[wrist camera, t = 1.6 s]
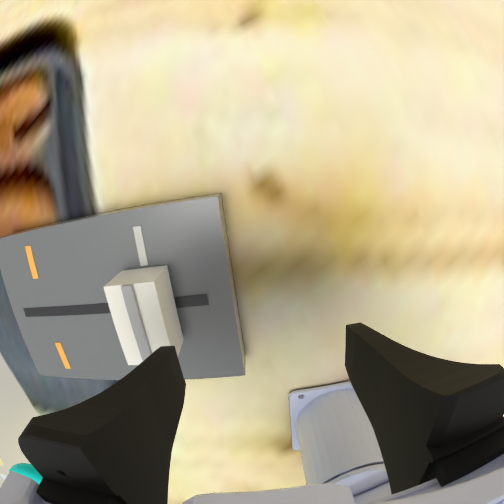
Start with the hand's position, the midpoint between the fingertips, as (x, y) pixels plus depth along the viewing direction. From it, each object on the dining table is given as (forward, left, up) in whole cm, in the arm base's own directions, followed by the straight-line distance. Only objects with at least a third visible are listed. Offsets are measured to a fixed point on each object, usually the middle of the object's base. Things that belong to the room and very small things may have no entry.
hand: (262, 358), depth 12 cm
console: (+10, 0, -9) cm, 14 cm away
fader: (+6, 0, -7) cm, 9 cm away
